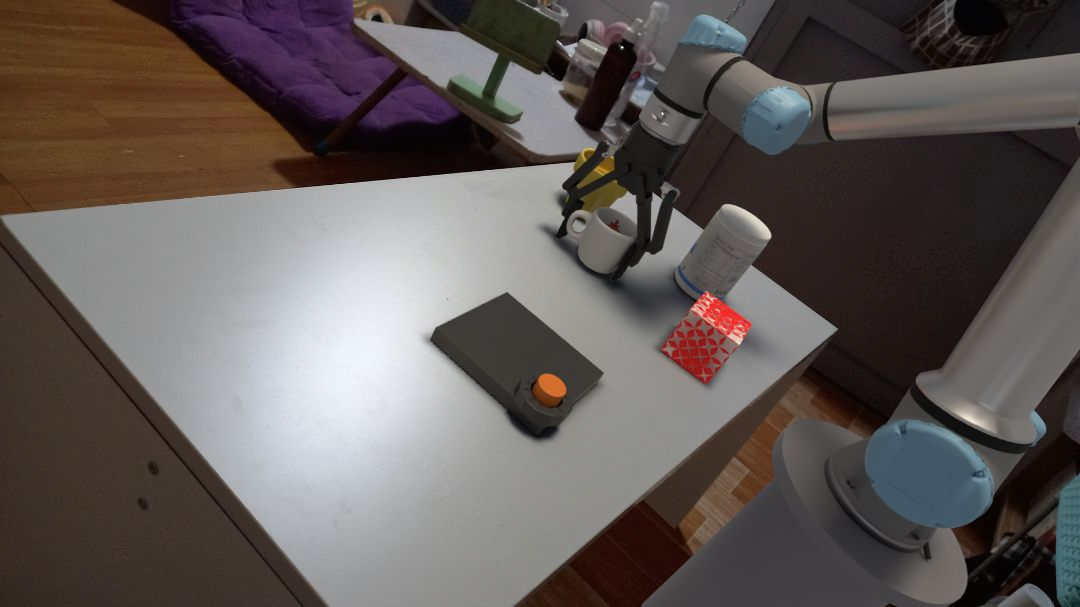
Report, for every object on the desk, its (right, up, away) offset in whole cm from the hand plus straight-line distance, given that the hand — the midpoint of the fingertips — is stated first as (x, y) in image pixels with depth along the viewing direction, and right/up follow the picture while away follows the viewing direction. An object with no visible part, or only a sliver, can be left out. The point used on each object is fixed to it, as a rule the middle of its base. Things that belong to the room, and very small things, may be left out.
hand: (587, 257), depth 101 cm
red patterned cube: (+14, -15, -7) cm, 22 cm away
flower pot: (0, +9, +14) cm, 17 cm away
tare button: (-7, -17, -33) cm, 38 cm away
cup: (0, 0, 0) cm, 1 cm away
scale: (-10, -14, -26) cm, 31 cm away
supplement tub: (+19, -5, +10) cm, 23 cm away
